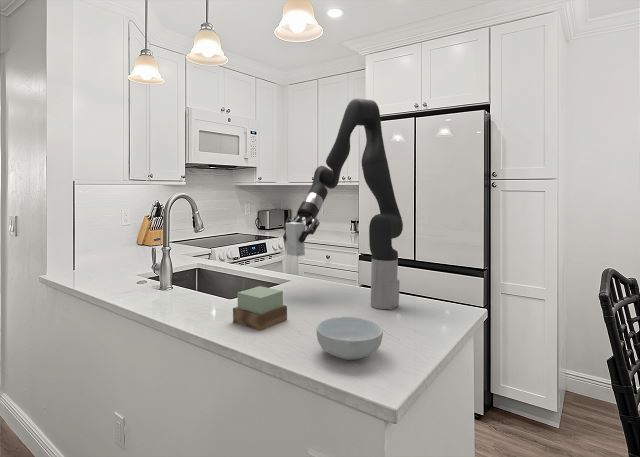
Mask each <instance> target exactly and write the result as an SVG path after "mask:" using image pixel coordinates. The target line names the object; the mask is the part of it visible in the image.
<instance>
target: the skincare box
mask: <svg viewBox="0 0 640 457" xmlns="http://www.w3.org/2000/svg"><path fill="white" fill-rule="evenodd" d="M285 232H286V241H285V242H286V243H285V244H286V255H289V256H292V257H293V256H294V257H303V256H305V255H306V254H305V253H306V252H305V241H304V242H303V243H300V241H299V238H300V236H301V234H302V232H304V223H296V222H290V223H286V231H285Z"/></svg>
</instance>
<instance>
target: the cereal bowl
mask: <svg viewBox="0 0 640 457" xmlns="http://www.w3.org/2000/svg"><path fill="white" fill-rule="evenodd" d="M383 334H384V330H383V328H382V326H381V325H380V324H378V323H377V322H374V321H373V320H371V319H367V318H362V317H357V316H337V317H331V318H328V319H324V320H322V321H320V322H319V323H318V324H317V326H316V338H317V339H316V340H317V341H318V344H319V346H320V347H321V349H323V350H324V351H325V352H326V353H328V354H329V355H332V356H334V357H336V358H339V359H341V360H347V361H351V360H353V361H354V359H355V360H359V359H361V358H362V359H363V358H365V357H368V356H370V355H372V354H374V353H375V352H377V350H379V348H380V347H381V344H382V341H383Z"/></svg>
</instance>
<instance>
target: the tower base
mask: <svg viewBox="0 0 640 457" xmlns="http://www.w3.org/2000/svg"><path fill="white" fill-rule="evenodd" d="M287 320H288V306H287V305H284V304H283V306H282V307H279V308H277V309H274V310H271V311H269V312H266V313H263V314H258V313H254V312H250V311H247V310H243V309H239V308H238V306H235V307H233V308H232V323H235V324H238V325H241V326H244V327H248V328H249V329H253V330H257V331H263V330H266V329H268V328H271V327H274V326H276V325H278V324H281V323H282V322H286V321H287Z"/></svg>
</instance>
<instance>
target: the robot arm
mask: <svg viewBox="0 0 640 457" xmlns="http://www.w3.org/2000/svg"><path fill="white" fill-rule="evenodd" d="M381 122H382V121H381V112H380V108H379V106H378V104H377V103H376V101H374V100H371V99H366V98H354V99H352V100H350V102H349V103H348V104H347V106H346V108H345V111H344V113H343V117H342V119H341V123H340V125H339V130H338V132H337V136H336V138H335V140H334V144H333V146H332V148H331V149H330V151H329V153H328V155H327V157H326V159H325V164H326V165H327V166H324V165H320V166H318V167H316V169H315V171H314V173H313V179H312V184H311V187H310V188H309V190H308V192H307V194H306V195H305V197H304V198H303V200H302V201H301V204H300V205H299V207H298V209H297V211H296V216H295V215H294V217H291V216H290V215H289V216H287V219H286V220H285V223H284V225H283V227H282V228H283V230H284V231H285V232H284V234H283V235H282V238H283V240H284V242H286V223H290V222H296V223H304V232H302V234H301V236H300V238H299V241H300V243H303V242H304V243H305V242H306V239H307V237H308V236H309V235H314V234H315V232H316V231H317V228H318V227H319V226H320V224H321V223H320V221H319V219H318V218H317V216H318V215H319V213H320V211H321V208H322V206H323V204H324V202H325V200H326V197H327V195H328V192H329V191H328V189H331V190H332V189H335V188H336V187H337V186H338V184H339V181H340V176H341V171H342V169H343V166H344V165H345V163H346V162H347V159H348V157H349V155H350V151H351V136H352V132H353V131H354V129H355V128H356V127H357V126H360V127H361V126H362V127H364V133H365V137H366V140H365V143H366V144H365V146H364V150H363V152H362V157H361V169H362V174H363V178H364V181H365V183H366V185H367V187H368V188H369V191H370V192H371V193H372V195H373V196H374V198H375V199H376V202H377V205H378V207H379V214H375V215H373V216H372V218H371V219H370V222H369V227H368V238H369V239H368V240H369V243H368V244H369V251H370V253H371V267H370V268H371V269H370V270H371V272H370V273H371V274H370V306H371V307H373V308H375V309H380V310H390V311H391V310H393V309H395V308H397V307H398V306H400V280H399V279H398V267H399V266H398V265H399V252H398V250H396V249H394V248H393V242H392V240H393V239H396V238H399V237H400V236H401V234H402V232H403V229H404V224H403V218H402V215H401V213H400V209H399V205H398V204H397V200H396V196H395V192H394V187H393V182H392V177H391V173H390V167H389V164H388V162H389V161H388V158H387V155H386V150H385V149H386V148H385V142H384V138H383V133H382V132H383V130H382V123H381ZM328 167H329V168H328ZM327 188H328V189H327Z"/></svg>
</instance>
